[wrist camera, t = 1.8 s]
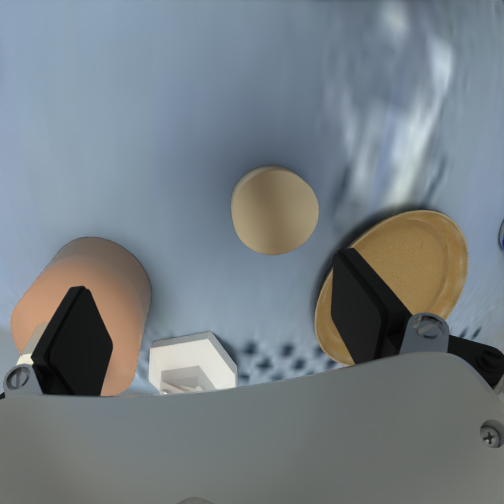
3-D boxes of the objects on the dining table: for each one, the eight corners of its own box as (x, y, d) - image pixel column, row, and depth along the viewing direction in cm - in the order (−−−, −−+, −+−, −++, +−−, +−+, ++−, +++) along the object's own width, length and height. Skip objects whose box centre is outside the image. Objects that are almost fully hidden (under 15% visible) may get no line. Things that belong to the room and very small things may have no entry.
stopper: (290, 150, 28) (310, 163, 23) (303, 215, 32) (324, 242, 26) (219, 169, 28) (221, 186, 23) (238, 233, 32) (245, 264, 26)
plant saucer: (461, 185, 33) (477, 193, 30) (445, 320, 44) (455, 332, 41) (292, 229, 32) (300, 242, 30) (316, 370, 44) (322, 386, 41)
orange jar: (123, 221, 29) (68, 311, 16) (168, 318, 35) (156, 424, 22) (35, 255, 29) (-31, 337, 16) (84, 337, 35) (52, 428, 22)
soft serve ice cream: (152, 385, 43) (117, 451, 30) (165, 309, 38) (117, 377, 25) (227, 411, 43) (210, 484, 30) (257, 340, 38) (245, 423, 25)
